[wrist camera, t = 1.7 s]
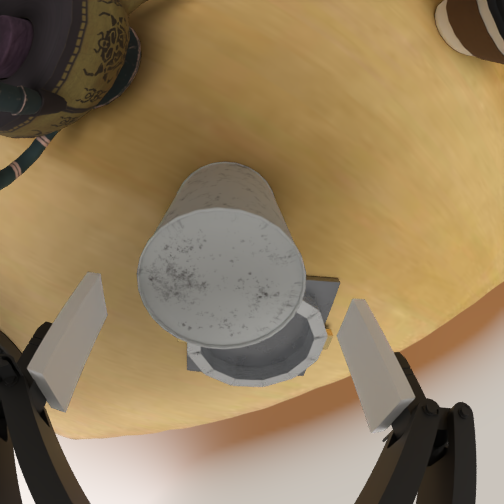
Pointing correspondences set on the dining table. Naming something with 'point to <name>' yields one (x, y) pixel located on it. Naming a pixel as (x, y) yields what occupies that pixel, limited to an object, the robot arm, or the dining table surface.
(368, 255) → the dining table surface
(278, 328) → the grey speckled cylinder
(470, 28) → the coffee cup
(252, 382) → the socket
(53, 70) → the teapot
